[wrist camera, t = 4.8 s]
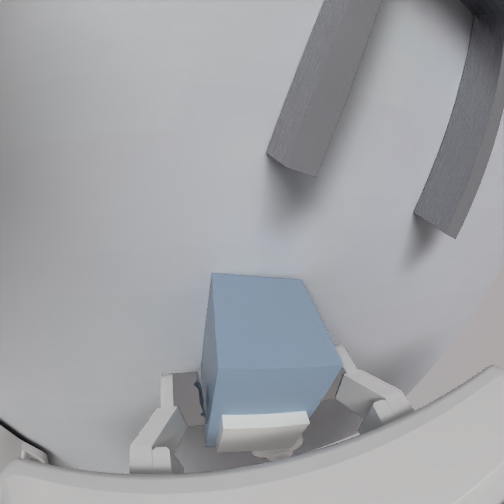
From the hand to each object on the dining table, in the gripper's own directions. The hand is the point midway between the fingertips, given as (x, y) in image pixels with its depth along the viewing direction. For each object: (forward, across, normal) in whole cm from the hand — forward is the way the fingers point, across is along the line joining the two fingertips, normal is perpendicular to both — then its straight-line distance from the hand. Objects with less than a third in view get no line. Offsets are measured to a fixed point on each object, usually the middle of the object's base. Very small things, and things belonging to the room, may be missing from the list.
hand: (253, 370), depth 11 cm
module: (+3, 0, 0) cm, 3 cm away
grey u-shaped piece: (+3, -8, -13) cm, 15 cm away
